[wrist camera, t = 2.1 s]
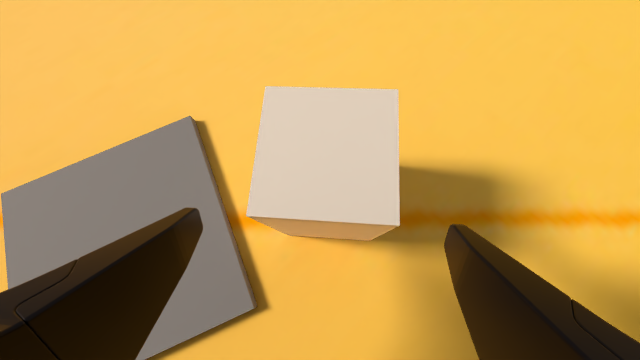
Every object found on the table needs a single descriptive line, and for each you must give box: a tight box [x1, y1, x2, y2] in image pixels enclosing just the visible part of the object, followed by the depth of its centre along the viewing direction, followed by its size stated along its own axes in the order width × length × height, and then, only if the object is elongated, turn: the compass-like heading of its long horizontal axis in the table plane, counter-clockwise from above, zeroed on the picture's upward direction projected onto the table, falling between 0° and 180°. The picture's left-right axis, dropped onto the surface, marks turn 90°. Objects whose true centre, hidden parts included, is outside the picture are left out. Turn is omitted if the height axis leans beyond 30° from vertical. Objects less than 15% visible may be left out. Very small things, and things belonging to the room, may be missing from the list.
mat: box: [1, 116, 257, 360], centre depth 20 cm, size 16×16×1 cm
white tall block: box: [246, 86, 400, 241], centre depth 16 cm, size 6×6×10 cm
